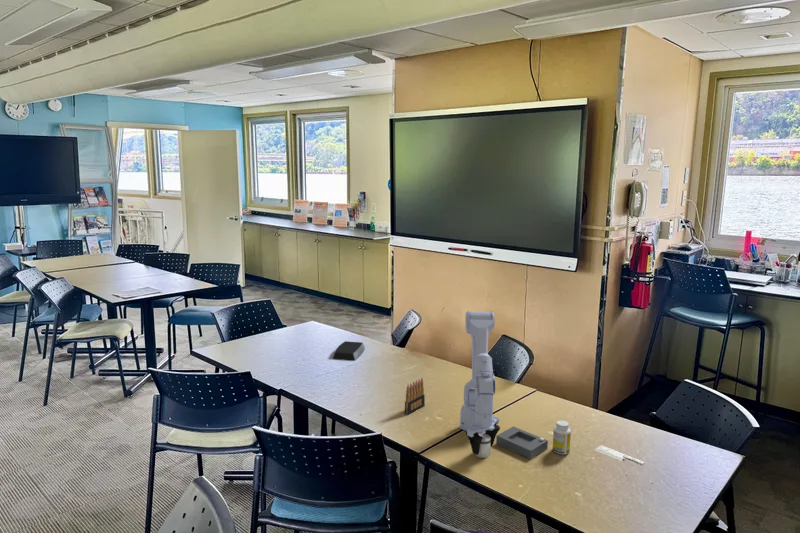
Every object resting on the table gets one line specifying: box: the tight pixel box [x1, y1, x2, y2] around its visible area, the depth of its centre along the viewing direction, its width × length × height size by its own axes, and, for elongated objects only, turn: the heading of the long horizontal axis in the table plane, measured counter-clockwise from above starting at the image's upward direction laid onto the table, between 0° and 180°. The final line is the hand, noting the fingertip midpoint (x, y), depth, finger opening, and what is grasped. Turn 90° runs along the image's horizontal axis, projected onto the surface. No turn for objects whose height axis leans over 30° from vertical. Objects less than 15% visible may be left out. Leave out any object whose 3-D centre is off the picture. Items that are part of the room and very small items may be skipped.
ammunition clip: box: [404, 377, 426, 416], centre depth 214 cm, size 11×2×12 cm, turn 141°
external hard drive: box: [332, 341, 366, 361], centre depth 279 cm, size 13×19×4 cm
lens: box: [474, 433, 492, 459], centre depth 182 cm, size 5×5×6 cm
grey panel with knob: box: [495, 426, 549, 460], centre depth 188 cm, size 14×10×4 cm
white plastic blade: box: [594, 444, 645, 466], centre depth 182 cm, size 5×15×1 cm, turn 43°
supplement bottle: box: [552, 420, 572, 455], centre depth 184 cm, size 6×6×10 cm
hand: (482, 449), depth 183 cm, fingers open, 7 cm apart
